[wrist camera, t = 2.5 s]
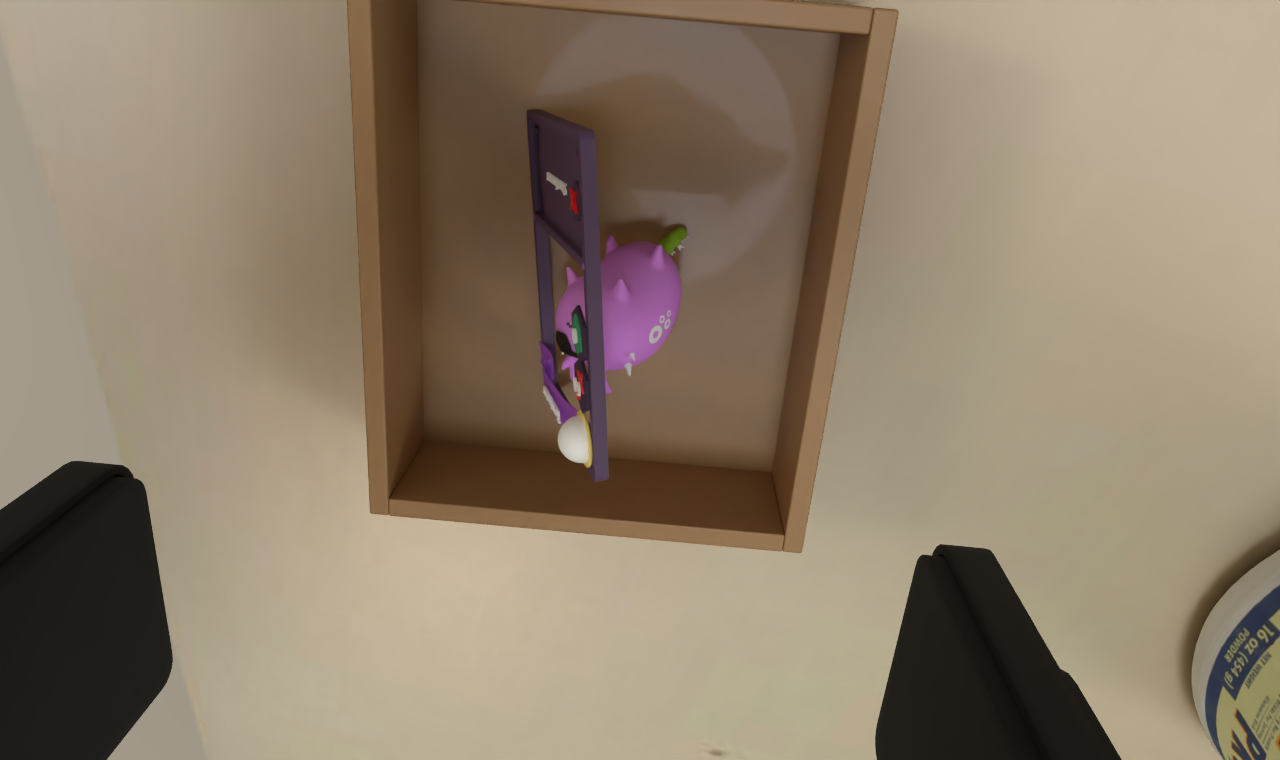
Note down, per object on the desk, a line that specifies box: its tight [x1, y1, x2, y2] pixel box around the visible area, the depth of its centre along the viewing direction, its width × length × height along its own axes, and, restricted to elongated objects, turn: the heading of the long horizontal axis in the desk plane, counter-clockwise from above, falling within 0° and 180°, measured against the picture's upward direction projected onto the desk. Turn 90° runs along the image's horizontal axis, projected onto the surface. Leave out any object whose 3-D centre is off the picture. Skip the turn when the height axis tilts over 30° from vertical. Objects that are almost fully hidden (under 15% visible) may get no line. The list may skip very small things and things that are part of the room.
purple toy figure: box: [526, 109, 689, 482], centre depth 24 cm, size 7×5×9 cm
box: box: [347, 0, 899, 553], centre depth 25 cm, size 13×15×4 cm
